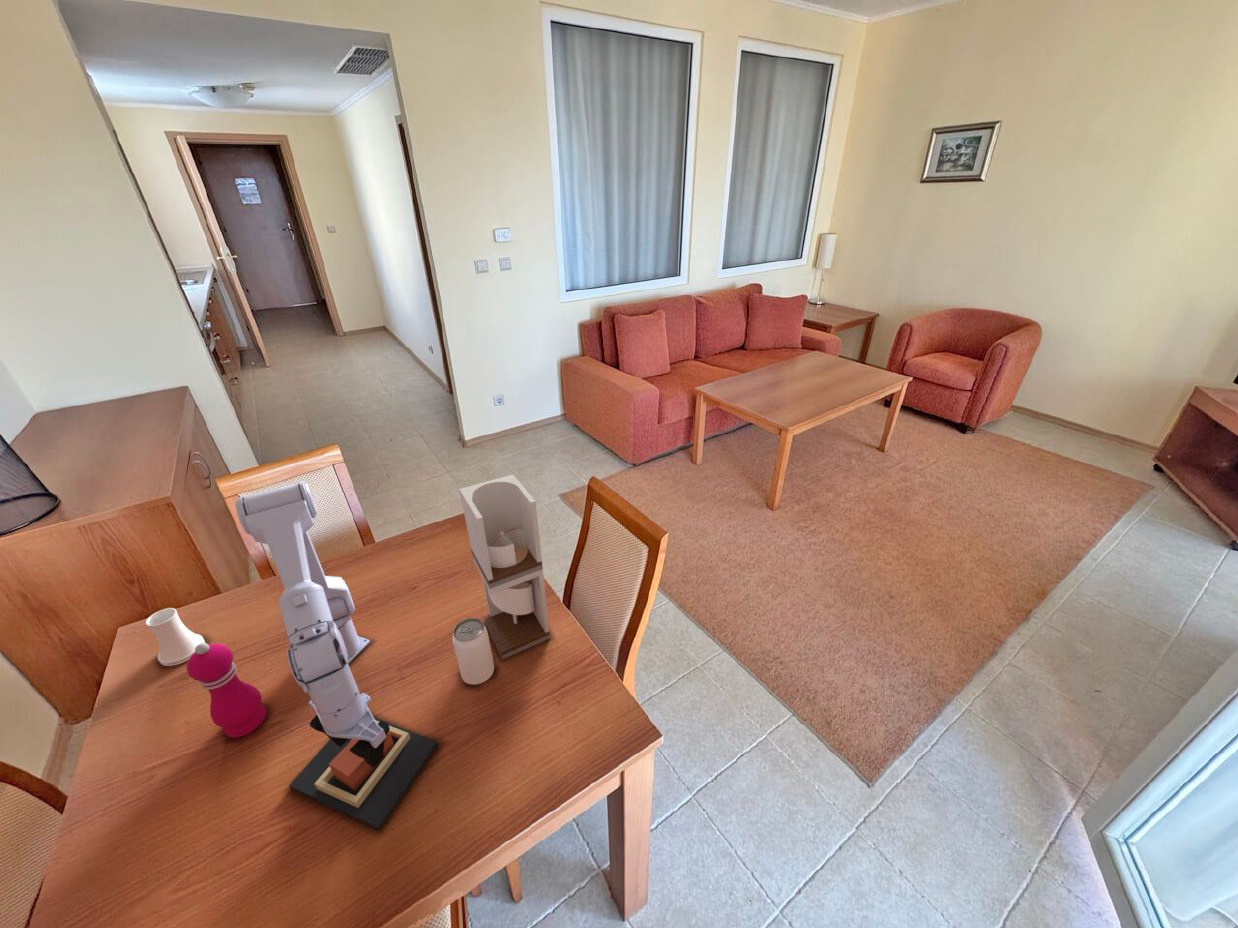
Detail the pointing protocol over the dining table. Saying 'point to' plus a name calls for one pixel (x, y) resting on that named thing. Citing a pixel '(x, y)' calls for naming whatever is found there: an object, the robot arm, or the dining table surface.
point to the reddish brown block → (355, 764)
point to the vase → (173, 637)
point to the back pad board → (379, 787)
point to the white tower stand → (508, 561)
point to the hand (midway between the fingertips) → (360, 750)
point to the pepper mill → (226, 690)
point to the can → (473, 651)
